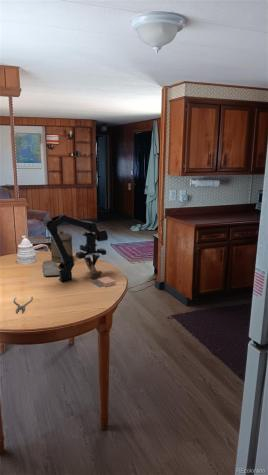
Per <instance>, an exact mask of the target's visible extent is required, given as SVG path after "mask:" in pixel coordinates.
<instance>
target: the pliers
mask: <svg viewBox="0 0 268 475" xmlns="http://www.w3.org/2000/svg"><path fill="white" fill-rule="evenodd" d="M30 298H31V299H30V300H29V301H27V302H26V303H24V304H23V305H20V304H19V303H18V302H16V300H17V297H15V298H14V299H13V303H14V304H15V305H16V306H17V308H16V310H15V314H18V313H19V312H20V310H21V312H22V314H24V313H25V311H26V306H27V305H29V304H30V303H32V302H33V300H34V298H33V296H31V297H30ZM15 299H16V300H15Z"/></svg>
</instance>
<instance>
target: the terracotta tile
mask: <svg viewBox="0 0 268 475" xmlns="http://www.w3.org/2000/svg"><path fill="white" fill-rule="evenodd" d="M96 280H97V282H98V283H99V284H101V285H103V286H104V288H106V287H111V286H115V285H116V280H115V279H112V278H111V277H109V276H104V277H98V278H97V279H96Z"/></svg>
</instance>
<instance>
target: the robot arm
mask: <svg viewBox="0 0 268 475" xmlns="http://www.w3.org/2000/svg"><path fill="white" fill-rule="evenodd" d="M63 223H68V224H71V225H74V226H76V227H80V228H82V229H83V230H85V231H84V233H82V236H83V237H85V239H86V240H85V241H86V242H85V244H80V245H79V251H78V252H76V253H75V257H76V259H79V260H81V259H82V260H83V259H84V258H85V259H86V261H87V264H88V266H89V267H90V262H91V260H92V262H93V264H94V266H95V267H96V264H97V261H98V259H99V258H100V257H101V256H105V255H107V249H104V248H102V247H101V248H97V246H98V244H97V243H96V242H99V243H100V242H106V241H108V240H109V236H108V232H107V230H106V229H101V230H99V229H98V226H97V224H96V223H95V222H92V221H89V220H81V219H77V218H74V217H71V216H69V215H66V214H64V213H59V214H58V215H56V216H53V217H50V218H46V219H44V221H43V223H42V224H43V227H44V228H45V230H46V231H47V232H48V234H49V235H50V238H51V237H52V239H53V241H54V243H55V245H56V247H57V249H58V251H59V253H60V257H61V263H59V264H58V265H57V266H58V268H59V276H58V277H59V278H58V281H59V282H61V283H66V282H67V283H68V282H71V281H73V279H72V278H73V272H72V270H73V268H74V266H75V260H74V257H72V255H73V254H72V255H70V254H69V253H68V254H67V252H66V250H65V247H64V245H63V243H62V241H61V239H60V237H59V234H58V233H59V230H58V227H59V226H60V225H62V224H63ZM100 254H101V255H100ZM89 256H90V257H89ZM91 256H92V257H91ZM91 258H92V259H91ZM87 264H86V265H87ZM88 266H87V267H88Z"/></svg>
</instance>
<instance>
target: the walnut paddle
mask: <svg viewBox="0 0 268 475" xmlns="http://www.w3.org/2000/svg"><path fill="white" fill-rule="evenodd" d="M89 257H90V258H91V255H89ZM83 260H84V262H85V264H86V267H87V268H88V270H89V272H90V274H91V275H90V279H95V278H101V275H102V274H103V271H102V270H99V271H98V270H97V268H96V265H95V266H94V264H93V259H91V262H90V267H89V266H88V264H87V261H86V259H85V258H83Z"/></svg>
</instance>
